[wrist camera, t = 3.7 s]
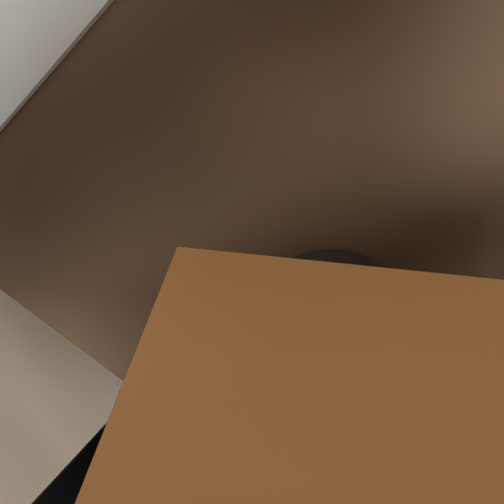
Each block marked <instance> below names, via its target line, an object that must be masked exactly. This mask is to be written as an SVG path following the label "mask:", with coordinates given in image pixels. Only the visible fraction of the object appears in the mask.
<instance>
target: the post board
mask: <svg viewBox="0 0 504 504" xmlns="http://www.w3.org/2000/svg"><path fill="white" fill-rule="evenodd" d="M177 247H186V248H195V249H205V250H215V251H225V252H235V253H245V254H255V255H264V256H274V257H284V258H294V259H304V260H314V261H324V262H333V263H343V264H353V265H363V266H373V267H383V268H393V269H402V270H412V271H422V272H432V273H442V274H452V275H461V276H471V277H481V278H491V279H501V280H504V0H0V289H1V290H3V291H4V292H5V293H7V294H8V295H9V296H11V297H12V298H13V299H15V300H16V301H17V302H19V303H20V304H21V305H23V306H24V307H25V308H27V309H28V310H29V311H31V312H32V313H33V314H35V315H36V316H37V317H39V318H40V319H41V320H43V321H44V322H45V323H47V324H48V325H49V326H51V327H52V328H53V329H55V330H56V331H57V332H59V333H60V334H61V335H63V336H64V337H65V338H67V339H68V340H70V341H71V342H72V343H74V344H75V345H76V346H78V347H79V348H80V349H82V350H83V351H84V352H86V353H87V354H88V355H90V356H91V357H92V358H94V359H95V360H96V361H98V362H99V363H100V364H102V365H103V366H104V367H106V368H107V369H108V370H110V371H111V372H112V373H114V374H115V375H116V376H118V377H119V378H120V379H122V380H123V381H124V379H125V377H126V374H127V371H128V369H129V366H130V364H131V361H132V359H133V356H134V354H135V351H136V349H137V346H138V344H139V341H140V339H141V336H142V334H143V331H144V329H145V326H146V324H147V321H148V319H149V316H150V314H151V311H152V309H153V306H154V304H155V301H156V299H157V296H158V294H159V291H160V289H161V286H162V284H163V281H164V279H165V276H166V274H167V271H168V269H169V266H170V264H171V261H172V259H173V256H174V254H175V251H176V249H177Z"/></svg>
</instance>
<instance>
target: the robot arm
mask: <svg viewBox="0 0 504 504" xmlns="http://www.w3.org/2000/svg"><path fill="white" fill-rule="evenodd" d="M106 424H107V423H106ZM106 424H105V425H104V426H103V427H102V428H101V429H100V430H99V432H98V433H97V434H96V435H95V436H94V437H93V438H92V439H91V440H90V441H89V442H88V443H87V444H86V446H85V447H84V448H83V449H82V450H81V451H80V452H79V453H78V454H77V455H76V456H75V457H74V458H73V460H72V461H71V462H70V463H69V464H68V465H67V466H66V467H65V468H64V469H63V470H62V471H61V472H60V474H59V475H58V476H57V477H56V478H55V479H54V480H53V481H52V482H51V483H50V484H49V485H48V486H47V488H46V489H45V490H44V491H43V492H42V493H41V494H40V495H39V496H38V497H37V498H36V499H35V501H34V502H33V503H32V504H75V502H76V499H77V497H78V494H79V492H80V489H81V487H82V484H83V482H84V479H85V477H86V474H87V472H88V469H89V467H90V464H91V462H92V459H93V457H94V454H95V452H96V449H97V447H98V444H99V442H100V439H101V437H102V434H103V432H104V429H105V427H106Z"/></svg>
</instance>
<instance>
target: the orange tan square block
mask: <svg viewBox="0 0 504 504" xmlns="http://www.w3.org/2000/svg"><path fill="white" fill-rule="evenodd" d="M75 504H504V280H501V279H491V278H481V277H471V276H461V275H452V274H442V273H432V272H422V271H412V270H402V269H393V268H383V267H373V266H363V265H353V264H343V263H333V262H324V261H314V260H304V259H294V258H284V257H274V256H264V255H255V254H245V253H235V252H225V251H215V250H205V249H195V248H186V247H177V249H176V251H175V254H174V256H173V259H172V261H171V264H170V266H169V269H168V271H167V274H166V276H165V279H164V281H163V284H162V286H161V289H160V291H159V294H158V296H157V299H156V301H155V304H154V306H153V309H152V311H151V314H150V316H149V319H148V321H147V324H146V326H145V329H144V331H143V334H142V336H141V339H140V341H139V344H138V346H137V349H136V351H135V354H134V356H133V359H132V361H131V364H130V366H129V369H128V371H127V374H126V377H125V379H124V382H123V384H122V387H121V389H120V392H119V394H118V397H117V399H116V402H115V404H114V407H113V409H112V412H111V414H110V417H109V419H108V422H107V424H106V427H105V429H104V432H103V434H102V437H101V439H100V442H99V444H98V447H97V449H96V452H95V454H94V457H93V459H92V462H91V464H90V467H89V469H88V472H87V474H86V477H85V479H84V482H83V484H82V487H81V489H80V492H79V494H78V497H77V499H76V502H75Z"/></svg>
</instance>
